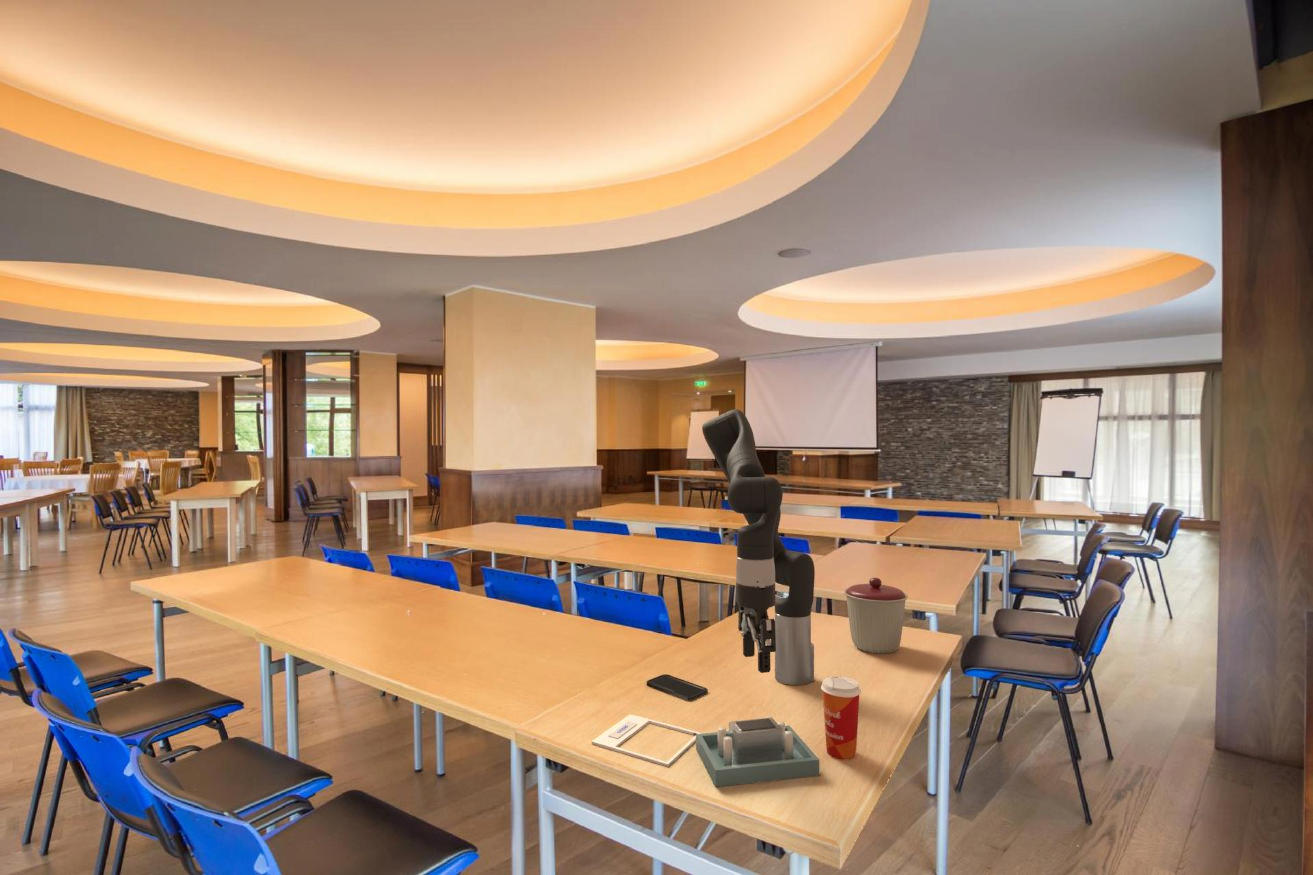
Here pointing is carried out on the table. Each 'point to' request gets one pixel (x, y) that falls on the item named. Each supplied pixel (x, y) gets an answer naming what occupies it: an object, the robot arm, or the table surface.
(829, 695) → the paper cup
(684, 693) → the phone
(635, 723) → the photo frame
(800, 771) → the tray
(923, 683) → the table surface
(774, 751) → the block
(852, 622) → the canister
